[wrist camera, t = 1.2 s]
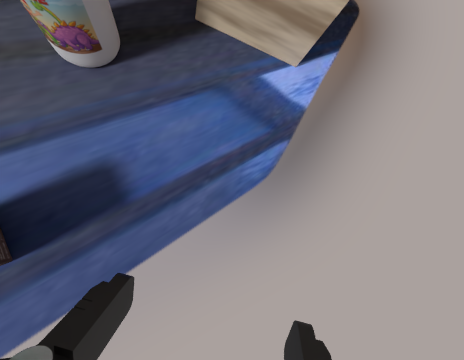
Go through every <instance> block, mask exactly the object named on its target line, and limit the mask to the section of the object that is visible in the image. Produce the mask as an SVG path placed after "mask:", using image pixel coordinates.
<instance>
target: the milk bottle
mask: <svg viewBox="0 0 464 360" xmlns="http://www.w3.org/2000/svg"><path fill="white" fill-rule="evenodd" d="M20 1H21V2H22V4H23V5H24V7H25V8H26V10H27V11H28V12H29V14H30V15H31V17H32V18H33V19H34V21H35V22H36V24H37V25H38V27H39V28H40V29H41V31H42V32H43V34H44V35H45V36H46V38H47V39H48V41H49V42H50V43H51V45H52V46H53V47H54V49H55V50H56V51H57V53H58V54H59V55H60V56H61V57H63V58H64V59H65V60H67V61H69V62H71V63H73V64H75V65H78V66H81V67H87V68H95V67H101V66H103V65H106V64H108V63H109V62H111V61H112V60H113V59H114V58H115V57H116V55H117V53H118V51H119V48H120V38H119V34H118V30H117V27H116V23H115V20H114V17H113V13H112V10H111V7H110V4H109V0H20Z"/></svg>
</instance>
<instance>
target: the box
mask: <svg viewBox="0 0 464 360" xmlns="http://www.w3.org/2000/svg"><path fill="white" fill-rule="evenodd" d="M11 261H12V257H11V255H10V252H9V250H8V247H7V245H6V242H5V239H4V236H3V234H2V231H1V228H0V266H1V265H3V264H6V263H9V262H11Z"/></svg>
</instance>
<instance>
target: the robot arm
mask: <svg viewBox="0 0 464 360" xmlns="http://www.w3.org/2000/svg"><path fill="white" fill-rule="evenodd" d="M133 290H134V277H133V276H129V275H126V274H122V273H117V274H116V275H115V276H114V277H113V278H112V280H111V281H110V282H109V283H108V282H104V281H103V282H101V283H100V284H98V285H96V286H95V287H93V288H91V289H90V290H89V291H88V293H87V294H86V295H85V296H84V297H83V298H82V300H80V301H79V302H78V303H77V304H76V305H75V307H74V308H72V309H71V310H70V311H69V313H68V314H67V315H66V316H65V317H64V318H63V319H62V320H61V321H60V322H59V323H58V324H57V325H56V326H55V327H54V329H52V330H51V331H50V333H49V334H48V335H47V336H46V337H45V338H44V339H43V340H42V341H41V342H40V343H39V344H38V345H36V346H33V347H30V348H27V349H25V350H23V351H21V352H19V353H18V354H16V355H15V356H13V357H11V358H5V359H0V360H97V359H98V357H99V356H100V354H101V353H102V351H103V350H104V348H105V347H106V345H107V344H108V342H109V341H110V339H111V337H112V336H113V335H114V333H115V332H116V330H117V328H118V327H119V325H120V324H121V322H122V321H123V319H124V318H125V316H126V315H127V313H128V311H129V310H130V307H131V305H132V301H133ZM284 360H332V359H331V355H330V353H329V351H328V350H327V348H326V346H325V345H324V343H323V341H320V340H316V339H315V335H314V330H313V327H312V325H311V324H307V323H303V322H299V321H294V322H293V325H292V327H291V330H290V333H289V335H288V338H287V340H286V343H285V348H284Z"/></svg>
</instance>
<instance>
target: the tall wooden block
mask: <svg viewBox="0 0 464 360" xmlns="http://www.w3.org/2000/svg"><path fill="white" fill-rule="evenodd" d="M348 1H349V0H197V7H196V16H195V19H196V20H198V21H200V22H202V23H204V24H207V25H209V26H211V27H213V28H215V29H217V30H219V31H221V32H223V33H225V34H228V35H230V36H232V37H234V38H236V39H238V40H240V41H242V42H244V43H246V44H248V45H251V46H253V47H255V48H257V49H259V50H261V51H263V52H265V53H267V54H269V55H271V56H274V57H276V58H278V59H280V60H282V61H284V62H286V63H288V64H290V65H292V66H294V67H296V66H297V65H298V64H299V63H300V61H301V60H302V59H303V58H304V56H305V55H306V54H307V53H308V51H309V50H310V49H311V48H312V46H313V45H314V44H315V43H316V41H317V40H318V39H319V38H320V36H321V35H322V34H323V33H324V31H325V30H326V29H327V28H328V26H329V25H330V24H331V23H332V21H333V20H334V19H335V18H336V16H337V15H338V14H339V13H340V11H341V10H342V9H343V8H344V6H345V5H346V4H347V3H348Z"/></svg>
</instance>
